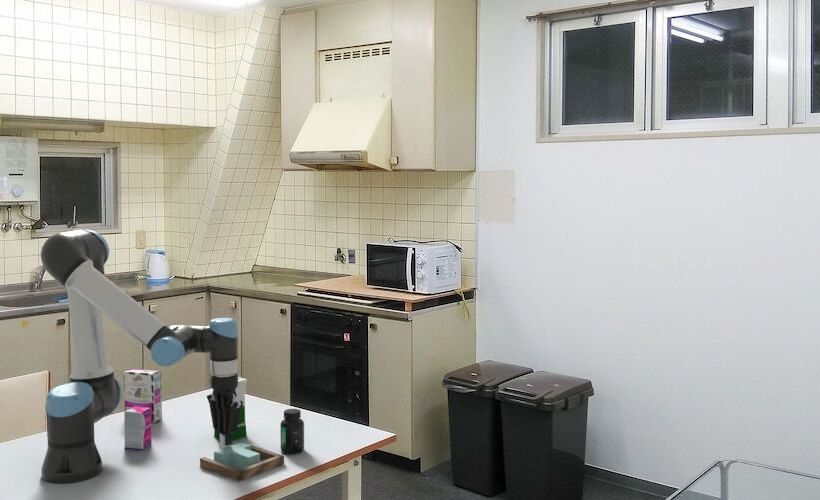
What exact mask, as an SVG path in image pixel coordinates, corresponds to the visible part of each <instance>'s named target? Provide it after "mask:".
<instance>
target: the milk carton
mask: <svg viewBox="0 0 820 500" xmlns="http://www.w3.org/2000/svg"><path fill="white" fill-rule="evenodd" d="M247 382H248V378H243V377H241V376H238V386H237V388H236V389H235V391H236V394H237V397H236V398H237V399H238V400H239V401H243V405H242V407H241V409H240V415H239V422H238V428H237V432H234V433H232V442H233V441H235V440H238V439H241V438H244V437H247V434H248V433H247V425H246V424H247V423H246V387H247ZM213 430H214V434H213V437H214V438H216V439H219V433H218V431H217V429H214V428H213Z"/></svg>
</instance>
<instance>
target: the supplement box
mask: <svg viewBox="0 0 820 500" xmlns="http://www.w3.org/2000/svg"><path fill="white" fill-rule="evenodd" d="M123 416H124V420H123V421H124V422H123V423H124V447H123V448H124V450H128V451H144V449H146V448H147V447H149V446H151V445H152V423H151V408H148V407H137V406H134V407H132V408H130V409H128V410H126V411H125V410H124V415H123Z"/></svg>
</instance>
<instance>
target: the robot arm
mask: <svg viewBox="0 0 820 500" xmlns="http://www.w3.org/2000/svg"><path fill="white" fill-rule="evenodd" d="M109 256H110V246H109V244H108V242H107V240H106V239H105V238H104V236H102V235H101V234H100V233H99V232H97V231H94V230H91V229H75V230H71V231H66V232H65V231H64V232H58V233H56V234H52V235H51V236H50V237H48V238H47V239H46V240H45V242H44V243H43V245H42V247H41V251H40V259H41V264H42V266H43V267H44V269H45V270H46V272H47V273H48V274H49V275H50V276H51V277H52V278H53V279H54V280H55V281H57V283H59V284H60V285H62V286H63V287H64V288H65V289H66V290H67V291H66V292H67V300H68V310H69V318H70V319H69V320H70V330H71V340H72V350H73V351H72V353H73V360H74V370H73V371H72V373H71V374H70V375H69V378H70V379H69V380H70V382H67V383H64V384H59V385H57V386H55V387H54V388H52V389H51V390H50V391H49V392H48V393H47V394H46V398H45V399H46V400H45V401H46V402H45V411H46V413H45V414H46V431H47V432H46V434H47V435H46V437H47V449H46V453H45V456H44V458H43V459H44V460H43V462H42V466H41V479H42V480H44V481H46V482H49V483H55V484H56V483H57V484H65V483H67V484H68V483H76V482H81V481H85V480H88V479H91V478H93V477H95V476H97V475H99V474H100V473H101V472H102V471H103V459H102V457H101V455H100V452H99V449H98V447H97V445H96V442H95V424H96V423H98V422H99V421H100V420H101V421H102V419H104V418H106V417H108V416H109V415H111V414H112V413H113V412H114V411H115V409H117V407H119V405H120V403H121V401H122V398H123V389H122V385H121V382H120V381H119V380H118V379H116V376H115V371H114V369H113V368H112V367H111V366H109V365H108V357H107V347H106V336H105V328H104V327H105V325H104V315H105V316H107V317H108V318H109V319H111V320H112V321H113V323H115V324H117V325H118V326H120V327H121V328H122V329H123V330H125V332H127V334H130V335H131V336H132V337H133V338H135V340H137V341H138V342H139V343H140V344H142V345H143V346H145V347H146V348H147V349H148V350H149V351H150V356H151V358H152V360H153V362H155V364H157V365H158V366H161V367H169V366H172V365H175V364H178V363H180V362H181V361H182V359H185V358H186V357H187V356H189V355H191V354H192V353H202V354H203V353H204V354H206V353H209V355H210V356H209V359H210V360H209V365H210V367H209V369H210V370H209V372H210V374H211V375H210V388H211V389H212V393H211V394H207V395H206V398H207V402H208V404H209V409H210V410H209V411H210V416H211V422H212V427H213V430H214V429H217V431H218V433H219V438H218V442H219V450H220V449H223V448H226V447H229V446H232V444H233V441H232V433H234V432H237V428H238V422H239V415H240V409H241V407H242V405H243V401H239V400H238V399H237V398H236V397H237V394H236V391H235V389H236V388H237V386H238V377H239V374H238V371H239V370H238V369H239V365H238V361H239V360H238V356H239V355H238V346H239V345H238V344H239V343H238V340H239V339H238V337H239V335H238V334H239V333H238V325H237V321H236V320H235V318H231V317H217V318H216V317H215V318H213V319H211V320H209V324H208V325H188V324H187V325H185V324H178V325H177V324H175V325H174V324H173V325H170V326H167V325H166V324H165V323H164V322H162V321H161V320H160V319H159V318H158V317H157V316H155V315H154V314H153V313H151V311H149V310H148V309H146V308H145V307H144V306H143V305H142V304H140V303H139V302H137V300H135V298H133V297H132V296H130V295H129V294H128V293H127V292H125V291H124V290H123V289H122V288H121V287H119V286H118V285H117V284H115V283H114V282H113V281H111V280H110V279H109V278H108V277H107V276H106V275H105V264H106V262H107V261H108V259H109ZM103 314H104V315H103Z"/></svg>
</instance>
